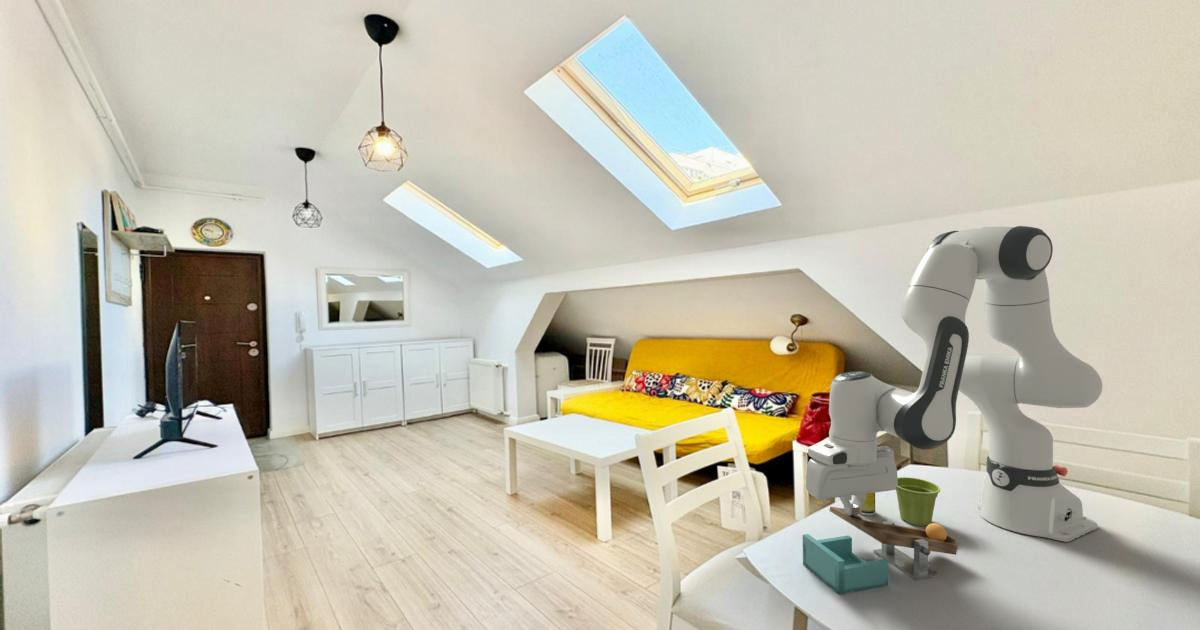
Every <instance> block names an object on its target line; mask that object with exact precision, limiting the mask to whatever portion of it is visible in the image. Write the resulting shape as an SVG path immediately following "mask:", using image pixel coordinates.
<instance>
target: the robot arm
mask: <svg viewBox="0 0 1200 630" xmlns="http://www.w3.org/2000/svg"><path fill="white" fill-rule="evenodd" d="M1053 249H1054V248H1053V241H1052V240H1051V238H1050V237H1049V235H1047V233H1046V232H1045V231H1044V230H1043V229H1041V228H1038V227H1034V226H1026V225H1018V226H1014V227H1013V226H984V227H980V228H973V229H972V228H971V229H966V230H952V231H947V232H944V233H941V234H939V235H937V236H936V237H935V238H934V239H932V241H931V242H930V244H929V246H928V247H927V249H926V252H925V254H923V257H921V260H920V262H919V263H918V265H917V266H916V268H915V270H914V271H913V274H912V277H911V279H910V281H909V283H908V285H907V288H906V290H905V293H904V295H903V298H902V303H901V307H900V308H901V309H900V315H901V318H902V320H903V322H904V323H905V325H906V326H907V327H908V328H909V329H910V330H911V331H912V332H914V333H915V334H917V336H919V337H920V338H921V339H922V341H923V342H924V343H925V345H926V358H925V362H924V366H923V368H922V369H923V370H922V373H921V378H920V382H919V387H918V388H917V389H916V391H915V392H913V391H909V390H906V389H904V388H900V387H897V386H893V385H891V384H888V383H886V382H883V381H881V380H879V379H877V378H876V377H875V376H873V374H872V373H869V372H867V371H847V372H842V373H840V374H838V375H836V376H835V377H834V378H833V379H832V381H831V384H830V390H829V399H828V401H829V403H828V407H829V408H828V415H829V417H830V428H829V431H828V435H829V436H828V437H826V438H824V439H823V440H821V441H819V442H817V443H815V444H812V445H811V446H809V447H808V448H807V454H808V456H809V457H811V458H810V459H809V461H808V462H807V465H806V471H805V472H806V474H805V487H806V488H805V489H806V491H807V493H808V494H809V495H810V496H811V497H814V498H815V499H817V500H820V501H821V500H828V499H834V498H835V499H836V498H839V500H840V501H841V503H842V505H843V509H844V513H845V514H847V515H848V516H850V515H857V514H858V515H861V513H862V505H863V504H864V502H865V500H866V494H868V493H875V494H876V493H881V492H889V491H896V490H895V489H896V487H897V485H898V478H899V477H898V469H897V464H896V463H897V462H896V461H895V452H894V450H893V449H892V448H891V447H889V446H888V445H881V446H878V445H877V444H878V441H877V438H878V436H877V434H878V433H879V432H885V433H887V434H889V435H892V436H895V437H896V438H898V439H901V440H902V441H904V442H905V443H907V444H909V445H910V446H912V447H914V448H916V449H920V450H924V451H925V450H927V451H928V450H934V449H936V448H937V449H938V448H939V447H941V446H943V445H945V444H946V443H948V441H949V440H950V439H952V437H953V435H954V433H955V430H956V425H957V424H956V423H957V400H958V395H959V392H960V393H961V394H963V395H964V396H966V397H967V398H968V399H969V400H970V401H971V402H973V404H974V405H975V406H976V407H977V408H978V410H979V411H980V412H981V415H982V417H983V418H984V421H985V423H986V428H987V437H988V456H987V457H986V461H985V466H986V472H987V474H985V476H983V482H982V489H981V497H980V498H981V499H980V500H977V502H976V506H977V508H978V509H979V515H980V516H981V517H982V518H983V519H984V520H985V521H987V522H989V523H991V524H993V525H995V526H998V527H999V528H1002V529H1005V530H1009V531H1011V532H1015V533H1019V534H1023V535H1027V536H1034V537H1041V538H1047V539H1052V540H1056V541H1061V542H1064V543H1065V542H1067V543H1069V542H1071V541H1074V540H1075V538H1076V539H1078V538H1080V537H1082V536H1084V535H1087V534H1088V532H1089V533H1091V532H1092V530H1093V531H1096V530H1097V529H1098V528H1099V525H1098V523H1097V522H1096V521H1094V520H1093V519H1090V518H1089V517H1087V516H1084V511H1083V510H1084V509H1083V503H1082V501H1081V499H1080V497H1079V496H1077V495H1076V494H1074V493H1073V492H1072V491H1070V490H1069V489H1068V488H1066V487H1065V486H1064V485H1062V484H1061V483H1060V479H1059V476H1061V477H1066V476H1067V474H1068V468H1067V467H1064V466H1059V465H1057V464H1055V465H1054V437H1053V435H1052V433H1051V431H1050V430H1049V429H1048V427H1046V426H1045V425H1044V424H1042V423H1040V422H1039V421H1037V420H1034V419H1032V418H1031V417H1028V416H1027V415H1025V413H1023V411H1022V410H1021V409H1020V407H1019V405H1018V404H1024V405H1032V406H1037V407H1038V406H1039V407H1048V408H1055V409H1079V408H1088V407H1090V406H1092V405H1093V404H1094V403H1096V401H1097V400H1098V399H1099V398H1100V396H1101V394H1102V392H1103V381H1102V378H1101V375H1100V374H1099V373H1098V371H1097V370H1096V369H1095V368H1094V367H1093V366H1092V365H1090V364H1089V363H1087V362H1085V361H1083V360H1081V359H1080V358H1078V357H1076V356H1075V355H1073V354H1072V352H1070V351H1069V350H1068V349H1067V348H1066V347H1065V346H1064V344H1062V343H1061V342H1060V340H1059V338H1058V336H1057V335H1056V333H1055V329H1054V326H1053V321H1052V314H1051V313H1052V312H1051V303H1050V302H1051V301H1050V289H1049V281H1048V277H1047V274H1046V268H1047V267H1048V266H1049V264H1050V262H1051V260H1052V258H1053V257H1052V256H1053ZM977 280H983V285H982V288H983V289H982V291H983V293H982V294H983V296H982V297H983V309H984V323H985V330H986V332H987V334H988V335H989V336H990V337H991V338H992V339H994V340H995V341H996V342H999V343H1001V344H1003V345H1005V346H1007V347H1010V348H1011V349H1013V350H1014V351H1015V352H1016V353H1017V354H1018V355H1009V354H994V353H981V354H971V355H970V354H969V355H967V353H968V348H969V339H970V333H969V328H968V326H967V324H966V315H967V314H966V313H967V309H968V306H969V303H970V300H971V297H972V295H973V291H974V290H975V284H976V281H977ZM853 495H855V498H854V501H852V499H853V498H852V497H853ZM850 501H852V502H850ZM1090 531H1091V532H1090ZM1086 533H1087V534H1086ZM1081 535H1082V536H1081Z"/></svg>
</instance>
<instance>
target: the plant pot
mask: <svg viewBox="0 0 1200 630" xmlns="http://www.w3.org/2000/svg"><path fill="white" fill-rule="evenodd" d="M894 491H896V496H897V503H898V510H899V517H900V519H901V520H903V521H905V522H907V523H908V524H910V525H914V526H917V527H918V526H919V527H924V526H928V525H929V524H932V523H933V522H932V520H933V516H934V509H935V505H936V499H937V497H938V494H939V493H940V492H941V487H940V486H939V485H937V484H936V483H934V482H931V481H929V480H926V479H921V478H917V477H906V476H903V477H898V485H897V487H896V489H895V490H894Z"/></svg>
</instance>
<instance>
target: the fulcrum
mask: <svg viewBox="0 0 1200 630" xmlns="http://www.w3.org/2000/svg"><path fill="white" fill-rule="evenodd" d="M881 523H885V524H891V525H895V522H893V521H891V520H888V521H887V520H885V521H882V522H881ZM872 551H873V553H874V554H875V555H877V556H879V557H880V559H881V558H882V559H885V560H887V561H888V562H889V564H891V565H892V566H894V567H895V568H896V569H898V570H900V571H901V572H903V573H904V574H906V575H908V576H909V577H911V578H912V579H914V580H915V581H917V580H923V579H929V578H933V577H938V572H936V571H934V570H932V569H931V568H929V555H931V551H930V550H929V549H928V542H927V541H926V540H924V539H918V540H914V548H913V558H912V557H911V556H910V555H908V554H906V553H904V552H903V551H902V550H899V549H898V548H896V547H895V545H888V544H882V543H881V548H877V549H873V550H872Z"/></svg>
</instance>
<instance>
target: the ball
mask: <svg viewBox="0 0 1200 630" xmlns="http://www.w3.org/2000/svg"><path fill="white" fill-rule="evenodd" d="M925 530H926V534H927V536H928V537H929V538H930V539H931V540H937V541H945V540H946V538H947V535H948V532H947V529H945V527H943V526H942V525H941V524H940V523H933V522H931V524H929V525H926V528H925Z"/></svg>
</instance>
